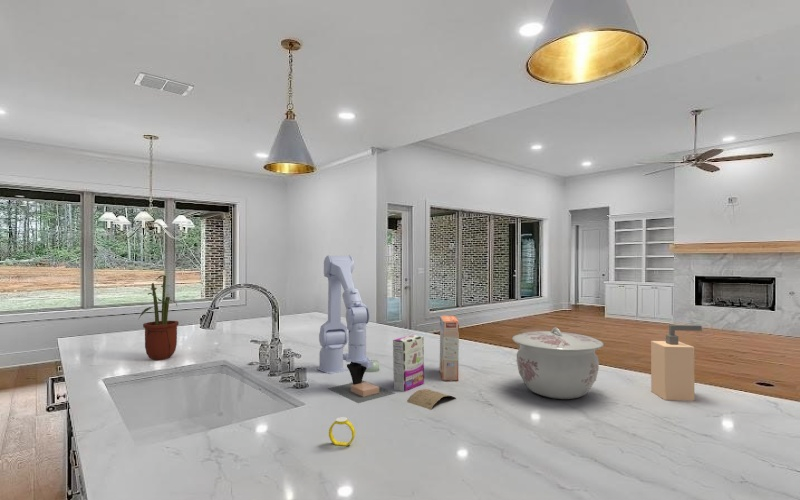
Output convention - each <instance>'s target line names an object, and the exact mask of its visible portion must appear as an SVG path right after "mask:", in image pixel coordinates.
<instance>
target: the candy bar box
mask: <svg viewBox="0 0 800 500" xmlns="http://www.w3.org/2000/svg"><path fill="white" fill-rule="evenodd" d="M392 350H393V351H392V358H393V367H392V368H393V390H396V391H400V392H405V393H406V392H408V391H410V390H412V389H415V388H417V387H421V386H423V385H424V384H425V368H424V367H425V363H424V362H425V361H424V358H425V357H424V356H425V355H424V353H425V351H424V350H425V349H424V335H419V334H411V335H406V336H403V337H400V338H394V339H393V340H392Z"/></svg>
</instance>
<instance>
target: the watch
mask: <svg viewBox="0 0 800 500" xmlns="http://www.w3.org/2000/svg"><path fill="white" fill-rule="evenodd" d="M335 425H347V427H349V429H350V431H351V438H350V440H349V441H348V442H345V441H343V442H342V441H338V440H337V439H336V438H334V435H333V427H334V426H335ZM328 437H329V440H330V442H331V443H332V444H333V445H334V446H340V447H341V446H344V447H348V446H349V445H350V444H352V442H353V441H354V439H355V437H356V429H355V427H354V426H353V423H352V422H351V421H349V419H348V418H347V417H346V416H341V417H337V418H336V419H335V421H333V423H331V425H330V426H329V429H328Z"/></svg>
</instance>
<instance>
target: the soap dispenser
mask: <svg viewBox="0 0 800 500" xmlns="http://www.w3.org/2000/svg"><path fill="white" fill-rule="evenodd" d="M702 330H703V326H702V325H699V324H669V325H668V334H665V340H651V341H650V359H651V361H650V362H651V363H650V365H651V366H650V369H651V370H650V374H651V375H650V378H651V379H650V382H651V383H650V385H651V387H650V389H651V390H650V392H652V393H653V394H655V395H656V396H658V397H659V398H661V399H663V400H664V401H678V402H679V401H680V402H682V401H683V402H684V401H685V402H694V401H695V399H696V398H695V346H692V345H691V344H687V343H684V342H682V341H679V336H678V335H676V331H694V332H696V331H697V332H698V331H699V332H701V331H702Z"/></svg>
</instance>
